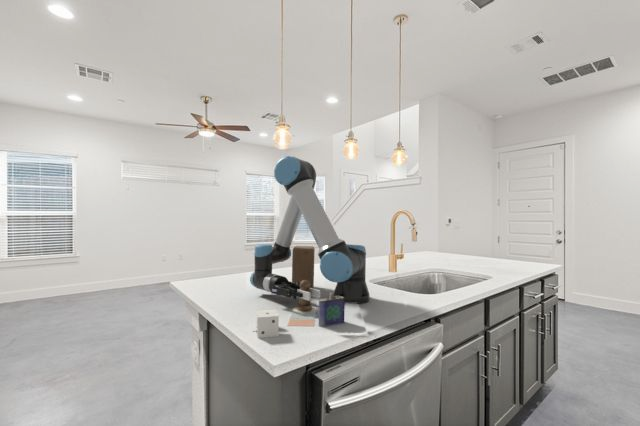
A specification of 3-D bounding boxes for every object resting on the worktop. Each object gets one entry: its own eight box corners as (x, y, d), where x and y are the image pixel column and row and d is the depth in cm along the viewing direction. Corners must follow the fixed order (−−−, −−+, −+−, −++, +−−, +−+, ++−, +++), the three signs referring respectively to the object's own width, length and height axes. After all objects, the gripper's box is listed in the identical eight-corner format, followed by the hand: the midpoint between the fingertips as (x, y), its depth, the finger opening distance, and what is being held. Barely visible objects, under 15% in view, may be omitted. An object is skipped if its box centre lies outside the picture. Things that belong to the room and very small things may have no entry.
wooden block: (313, 291, 139) (314, 248, 139) (291, 291, 139) (292, 247, 139) (313, 286, 149) (314, 246, 149) (293, 285, 149) (294, 245, 149)
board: (317, 309, 113) (317, 307, 113) (315, 329, 93) (315, 326, 93) (293, 308, 113) (293, 306, 113) (286, 328, 94) (286, 326, 94)
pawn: (311, 305, 113) (311, 278, 113) (312, 310, 107) (312, 281, 107) (297, 306, 112) (298, 278, 112) (297, 310, 107) (297, 281, 107)
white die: (276, 328, 94) (276, 309, 94) (278, 336, 88) (278, 315, 88) (256, 330, 92) (256, 310, 92) (257, 338, 87) (257, 317, 87)
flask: (320, 330, 93) (320, 295, 93) (316, 326, 95) (316, 293, 96) (346, 325, 97) (346, 292, 97) (341, 322, 100) (341, 290, 100)
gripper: (292, 289, 129) (331, 301, 112) (258, 297, 117) (295, 311, 100) (292, 272, 129) (331, 281, 112) (258, 278, 117) (295, 289, 100)
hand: (314, 295), depth 106 cm, fingers closed on pawn, 4 cm apart
